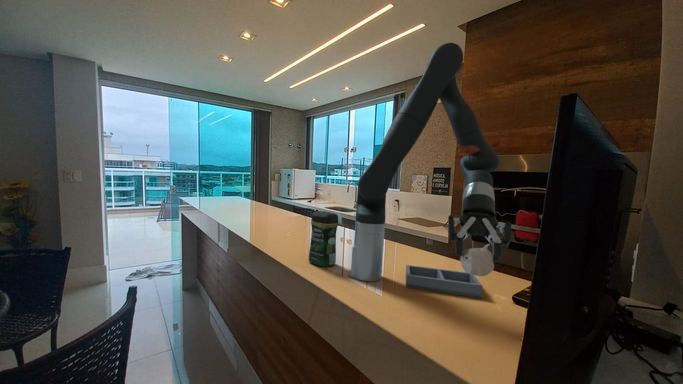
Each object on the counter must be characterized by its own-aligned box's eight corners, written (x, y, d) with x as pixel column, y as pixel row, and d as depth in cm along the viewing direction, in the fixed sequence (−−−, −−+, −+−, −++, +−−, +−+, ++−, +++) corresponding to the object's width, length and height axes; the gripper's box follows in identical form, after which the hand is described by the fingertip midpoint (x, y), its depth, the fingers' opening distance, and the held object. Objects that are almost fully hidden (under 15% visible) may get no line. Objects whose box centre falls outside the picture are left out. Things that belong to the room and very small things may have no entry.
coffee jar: (304, 262, 94) (307, 210, 94) (320, 258, 100) (323, 209, 100) (323, 269, 88) (326, 213, 87) (339, 264, 94) (342, 212, 93)
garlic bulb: (463, 277, 58) (466, 241, 58) (456, 268, 64) (459, 235, 64) (496, 281, 57) (499, 245, 56) (486, 272, 63) (489, 239, 63)
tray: (405, 287, 76) (406, 275, 76) (405, 275, 87) (406, 264, 87) (481, 298, 72) (482, 285, 71) (471, 284, 82) (472, 273, 82)
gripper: (449, 190, 70) (443, 242, 59) (513, 195, 64) (519, 254, 53) (448, 209, 75) (442, 260, 64) (507, 215, 69) (511, 272, 59)
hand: (477, 257), depth 59 cm, fingers closed on garlic bulb, 6 cm apart
